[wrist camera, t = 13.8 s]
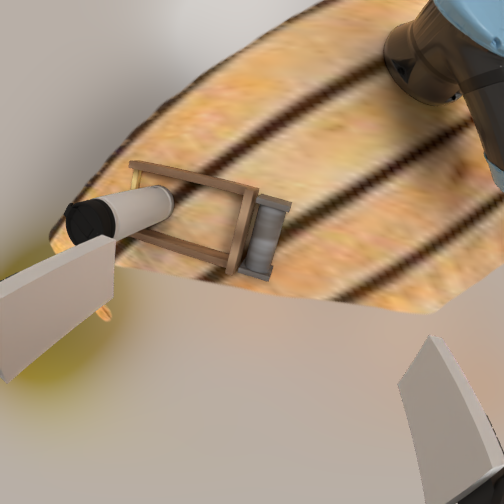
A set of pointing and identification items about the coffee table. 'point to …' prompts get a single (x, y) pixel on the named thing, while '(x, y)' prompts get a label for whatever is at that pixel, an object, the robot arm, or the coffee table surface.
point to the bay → (262, 235)
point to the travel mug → (118, 213)
